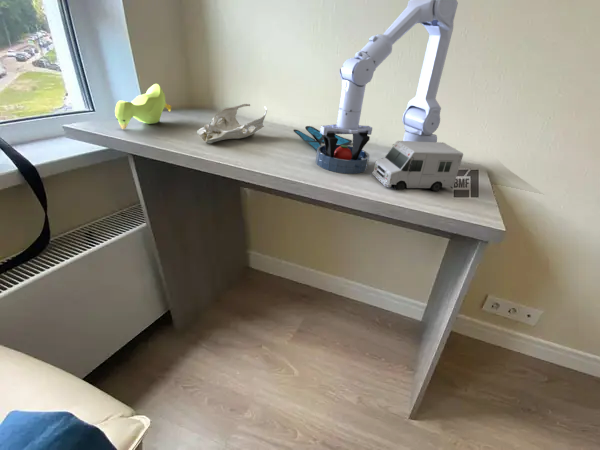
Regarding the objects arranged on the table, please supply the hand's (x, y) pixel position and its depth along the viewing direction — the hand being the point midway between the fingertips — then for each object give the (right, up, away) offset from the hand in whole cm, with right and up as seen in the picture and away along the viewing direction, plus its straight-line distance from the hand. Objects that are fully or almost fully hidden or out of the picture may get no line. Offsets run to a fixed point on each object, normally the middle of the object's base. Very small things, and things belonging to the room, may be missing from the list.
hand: (341, 160), depth 101 cm
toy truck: (+17, -8, -6) cm, 20 cm away
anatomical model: (-33, +10, +15) cm, 38 cm away
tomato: (0, -1, +1) cm, 1 cm away
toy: (-61, +15, +18) cm, 66 cm away
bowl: (0, -2, +1) cm, 2 cm away
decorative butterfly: (-6, +8, +17) cm, 20 cm away
